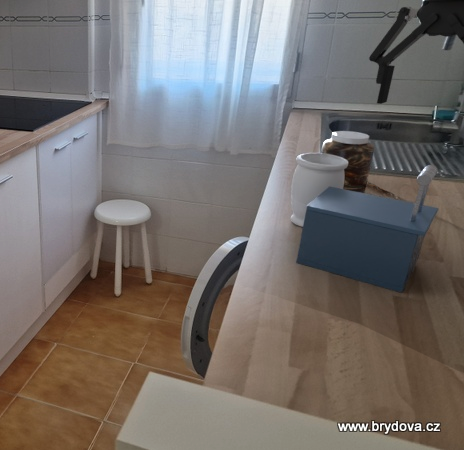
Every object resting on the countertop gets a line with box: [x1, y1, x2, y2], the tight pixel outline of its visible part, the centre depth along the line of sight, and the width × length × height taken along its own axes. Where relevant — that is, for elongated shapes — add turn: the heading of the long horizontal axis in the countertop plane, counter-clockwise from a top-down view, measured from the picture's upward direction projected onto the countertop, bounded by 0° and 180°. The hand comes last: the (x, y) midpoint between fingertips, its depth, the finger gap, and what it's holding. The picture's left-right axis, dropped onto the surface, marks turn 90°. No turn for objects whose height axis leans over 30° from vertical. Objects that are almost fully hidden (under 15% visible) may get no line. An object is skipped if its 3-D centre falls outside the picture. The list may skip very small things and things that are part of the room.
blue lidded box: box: [295, 210, 425, 294], centre depth 102 cm, size 18×14×11 cm
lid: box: [306, 164, 439, 237], centre depth 98 cm, size 19×14×9 cm
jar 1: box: [290, 152, 348, 228], centre depth 120 cm, size 11×10×15 cm
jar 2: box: [320, 130, 375, 194], centre depth 139 cm, size 12×12×15 cm
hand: (423, 107), depth 95 cm, fingers open, 13 cm apart
